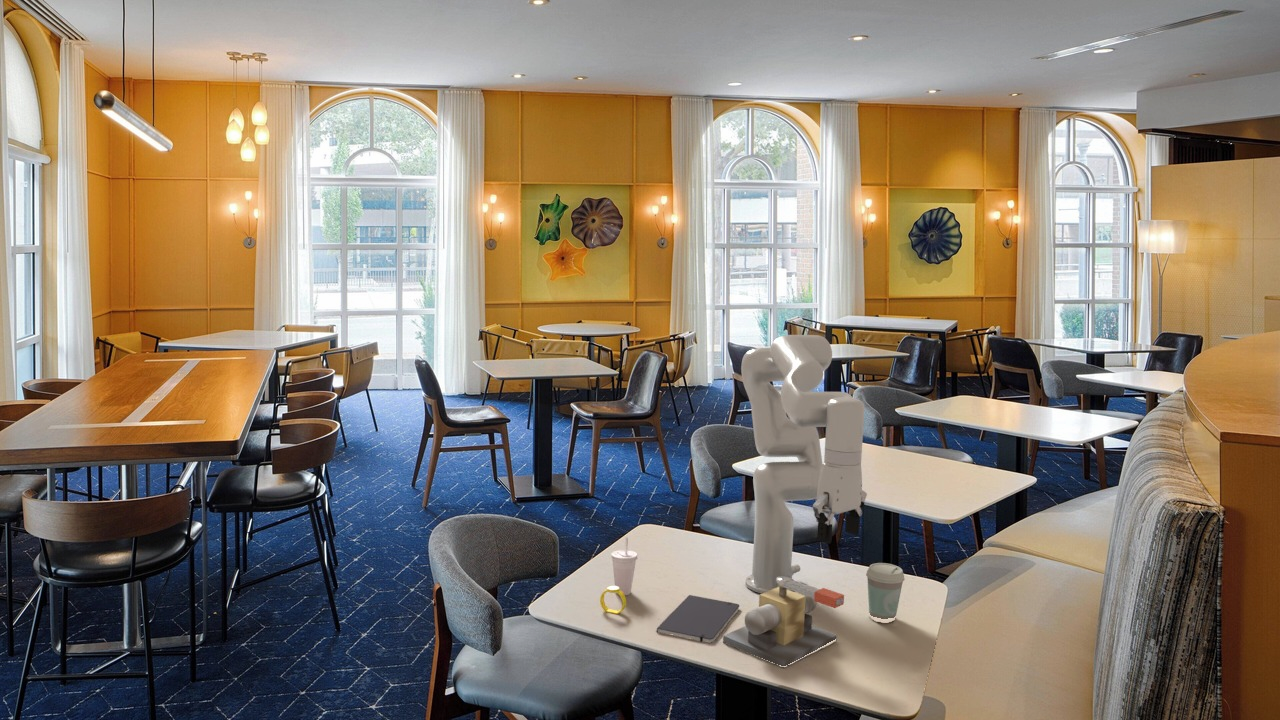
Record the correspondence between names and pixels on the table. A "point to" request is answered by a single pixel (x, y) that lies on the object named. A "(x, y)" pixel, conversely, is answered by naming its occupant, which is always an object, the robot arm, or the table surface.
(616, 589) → the watch
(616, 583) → the smoothie
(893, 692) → the table surface
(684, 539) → the table surface
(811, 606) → the valve stand
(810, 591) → the lever
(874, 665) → the table surface
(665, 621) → the notebook
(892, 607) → the coffee cup
